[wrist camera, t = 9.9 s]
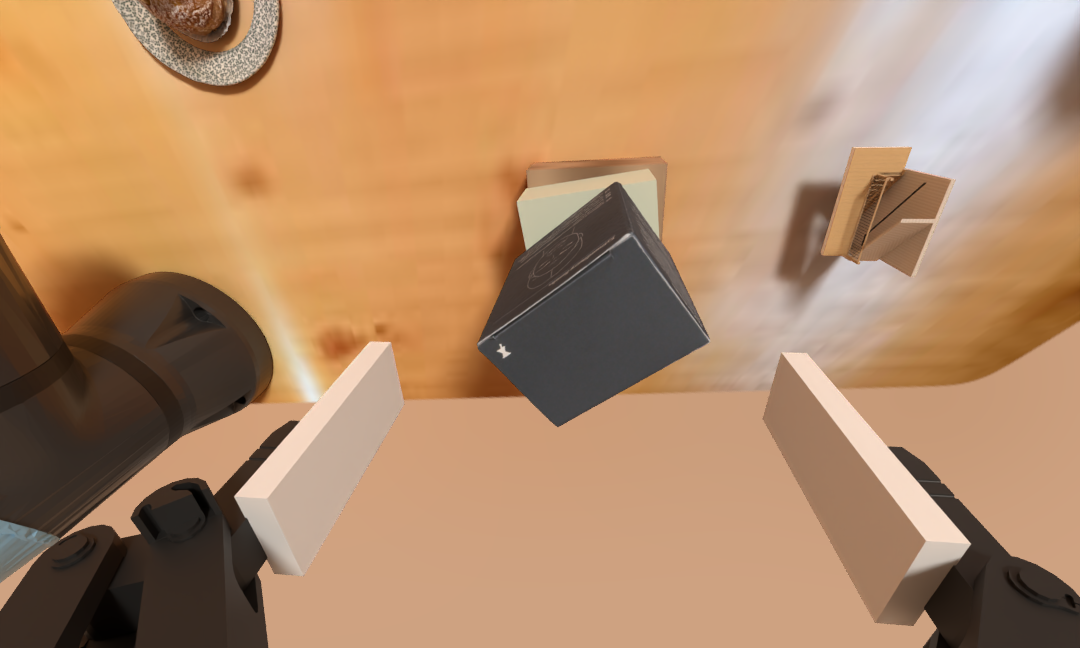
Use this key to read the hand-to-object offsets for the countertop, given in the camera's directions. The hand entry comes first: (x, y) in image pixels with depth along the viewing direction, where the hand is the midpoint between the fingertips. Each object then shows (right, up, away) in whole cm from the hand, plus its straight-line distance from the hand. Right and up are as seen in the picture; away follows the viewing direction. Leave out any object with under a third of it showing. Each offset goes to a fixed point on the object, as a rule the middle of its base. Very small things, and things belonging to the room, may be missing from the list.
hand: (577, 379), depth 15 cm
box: (+2, +6, +12) cm, 13 cm away
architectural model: (+21, +11, +16) cm, 28 cm away
